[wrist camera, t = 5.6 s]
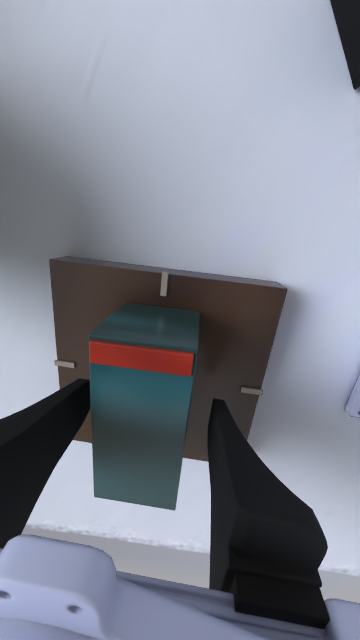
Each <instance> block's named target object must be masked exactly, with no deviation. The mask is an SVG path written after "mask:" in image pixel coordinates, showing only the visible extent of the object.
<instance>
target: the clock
mask: <svg viewBox="0 0 360 640" xmlns="http://www.w3.org/2000/svg"><path fill="white" fill-rule="evenodd" d="M49 262H50V274H51V287H52V299H53V311H54V323H55V336H56V348H57V360H55V365H57V366H58V372H59V385H60V389H62V388H63V387H65V386H67V385H68V384H70V383H72V382H74V381H75V380H77V379H79V378H82V379H88V380H90V361H89V334H90V333H91V332H92V331H93V330H94V329H96V328H97V327H98V326H99V325H100V324H101V323H102V322H103V321H105V320H106V319H107V318H108V317H109V316H110V315H111V314H113V313H114V312H115V311H116V310H117V309H118V308H119V307H120V306H122V305H123V304H124V303H125V302H126V303H134V304H142V305H150V306H158V307H166V308H174V309H182V310H190V311H198V312H200V318H199V342H198V354H197V361H196V368H195V375H194V382H193V389H192V396H191V403H190V410H189V417H188V424H187V431H186V438H185V445H184V452H183V458H189V459H195V460H202V461H208V462H209V460H208V447H207V436H208V423H209V418H210V412H211V407H212V402H213V398H214V399H221V400H224V401H225V402H226V404H227V407H228V409H229V411H230V413H231V415H232V417H233V419H234V420H235V422H236V424H237V426H238V427H239V429H240V431H241V432H242V434H243V436H244V437H245V439H246V440H247V438H248V434H249V430H250V427H251V423H252V419H253V416H254V412H255V408H256V404H257V401H258V397H259V395H262V392H263V390H262V389H261V386H262V382H263V378H264V375H265V371H266V367H267V363H268V360H269V356H270V352H271V349H272V345H273V341H274V337H275V334H276V330H277V326H278V322H279V319H280V315H281V311H282V308H283V304H284V300H285V296H286V293H287V288H285V287H284V286H282V285H281V284H279V283H278V282H273V281H264V280H256V279H248V278H240V277H232V276H223V275H215V274H207V273H199V272H191V271H183V270H174V269H166V268H158V267H150V266H142V265H133V264H125V263H117V262H109V261H101V260H92V259H84V258H76V257H68V256H67V257H61V258H55V259H50V260H49ZM73 440H77V441H83V442H89V443H92V419H91V390H90V410H89V412H88V414H87V417H86V419H85V421H84V423H83V424H82V426H81V428H80V429H79V431H78V432H77V434H76V435H75V437H74V438H73Z"/></svg>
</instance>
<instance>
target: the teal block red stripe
mask: <svg viewBox="0 0 360 640" xmlns="http://www.w3.org/2000/svg"><path fill="white" fill-rule="evenodd" d="M199 318H200V312H198V311H190V310H182V309H174V308H166V307H158V306H150V305H142V304H134V303H126V302H125V303H124V304H123V305H122V306H120V307H119V308H118V309H117V310H116V311H115V312H114V313H113V314H111V315H110V316H109V317H108V318H107V319H106V320H105V321H103V322H102V323H101V324H100V325H99V326H98V327H97V328H96V329H94V330H93V331H92V332H91V333H90V334H89V361H90V390H91V419H92V448H93V477H94V497H98V498H104V499H110V500H116V501H122V502H128V503H134V504H140V505H146V506H152V507H158V508H164V509H170V510H175V508H176V501H177V494H178V487H179V480H180V473H181V466H182V459H183V452H184V445H185V438H186V431H187V424H188V417H189V410H190V403H191V396H192V389H193V382H194V375H195V368H196V361H197V354H198V342H199Z"/></svg>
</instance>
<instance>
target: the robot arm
mask: <svg viewBox="0 0 360 640" xmlns="http://www.w3.org/2000/svg"><path fill="white" fill-rule="evenodd" d="M89 410H90V380H88V379H82V378H79V379H77V380H75V381H74V382H72V383H70V384H68V385H67V386H65V387H63V388H62V389H60V390H58V391H57V392H55V393H53V394H52V395H50V396H48V397H46V398H44V399H43V400H41V401H39V402H37V403H35V404H33V405H31V406H29V407H27V408H25V409H23V410H21V411H19V412H17V413H14V414H12V415H10V416H7V417H5V418H2V419H0V640H360V603H356V602H351V601H345V600H340V599H327V600H325V601H324V600H323V597H322V594H321V591H320V588H319V587H321V586H322V582H321V579H320V576H319V573H318V568H319V566H320V564H321V562H322V560H323V558H324V557H325V555H326V552H327V548H328V546H327V541H326V538H325V536H324V533H323V531H322V528H321V526H320V524H319V522H318V520H317V518H316V516H315V514H314V512H313V510H312V509H311V508H310V507H309V506H308V505H306V504H305V503H304V502H303V501H302V500H301V499H299V498H298V497H297V496H296V495H295V494H294V493H292V492H291V491H290V490H289V489H288V488H287V487H286V486H285V485H284V484H283V483H282V482H281V481H280V480H279V479H278V478H277V477H276V476H275V475H274V474H273V473H272V472H271V471H270V470H269V468H268V467H267V466H266V465H265V464H264V463H263V462H262V460H261V459H260V458H259V457H258V455H257V454H256V453H255V452H254V450H253V449H252V447H251V446H250V445H249V443H248V442H247V440H246V439H245V437H244V436H243V434H242V432H241V431H240V429H239V427H238V426H237V424H236V422H235V420H234V419H233V417H232V415H231V413H230V411H229V409H228V407H227V404H226V402H225V401H224V400H221V399H214V398H213V402H212V407H211V412H210V418H209V423H208V436H207V447H208V460H209V472H210V484H211V546H210V585H209V586H210V587H209V589H207V588H201V587H197V586H192V585H187V584H182V583H176V582H171V581H166V580H161V579H155V578H150V577H145V576H140V575H135V574H130V573H124V572H120V571H116V568H115V565H114V562H113V560H112V558H111V557H110V556H109V555H108V554H107V553H105V552H104V551H103V550H101V549H98V548H95V547H92V546H89V545H83V544H78V543H73V542H67V541H62V540H57V539H52V538H46V537H41V536H36V535H21V533H22V531H23V529H24V527H25V525H26V523H27V521H28V518H29V516H30V514H31V512H32V510H33V508H34V506H35V504H36V502H37V500H38V498H39V496H40V494H41V492H42V490H43V488H44V486H45V484H46V483H47V481H48V479H49V477H50V475H51V473H52V471H53V470H54V468H55V466H56V464H57V463H58V461H59V460H60V458H61V457H62V455H63V454H64V452H65V450H66V449H67V447H68V446H69V444H70V443H71V441H72V440H73V438H74V437H75V435H76V434H77V432H78V431H79V429H80V428H81V426H82V424H83V423H84V421H85V419H86V417H87V414H88V412H89ZM345 411H346V412H347V414H348V415H350V416H352V417H359V418H360V412H359V411H360V375H359V377H358V379H357V382H356V384H355V386H354V389H353V391H352V393H351V396H350V398H349V400H348V403H347V405H346V407H345Z"/></svg>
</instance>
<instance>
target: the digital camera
mask: <svg viewBox="0 0 360 640" xmlns="http://www.w3.org/2000/svg"><path fill="white" fill-rule="evenodd" d="M330 1H331V5H332V9H333V13H334V16H335V20H336V24H337V27H338V31H339V35H340V39H341V42H342V46H343V50H344V53H345V57H346V61H347V65H348V68H349V72H350V76H351V79H352V84H353V87H354V89H356V88H358V87H359V86H360V0H330Z"/></svg>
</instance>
